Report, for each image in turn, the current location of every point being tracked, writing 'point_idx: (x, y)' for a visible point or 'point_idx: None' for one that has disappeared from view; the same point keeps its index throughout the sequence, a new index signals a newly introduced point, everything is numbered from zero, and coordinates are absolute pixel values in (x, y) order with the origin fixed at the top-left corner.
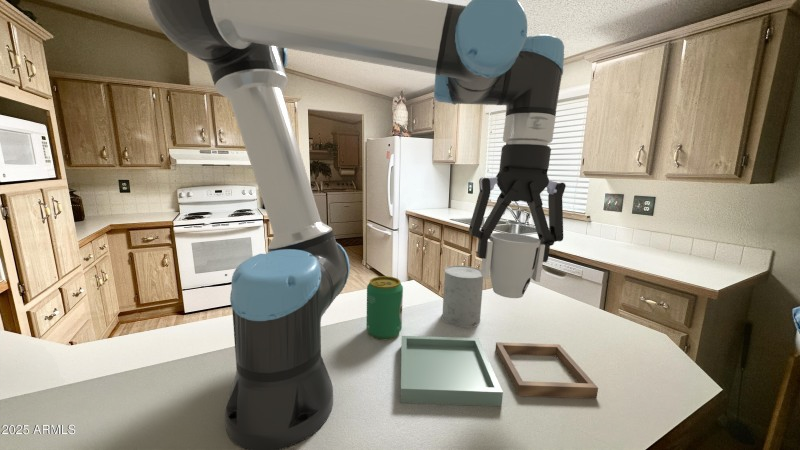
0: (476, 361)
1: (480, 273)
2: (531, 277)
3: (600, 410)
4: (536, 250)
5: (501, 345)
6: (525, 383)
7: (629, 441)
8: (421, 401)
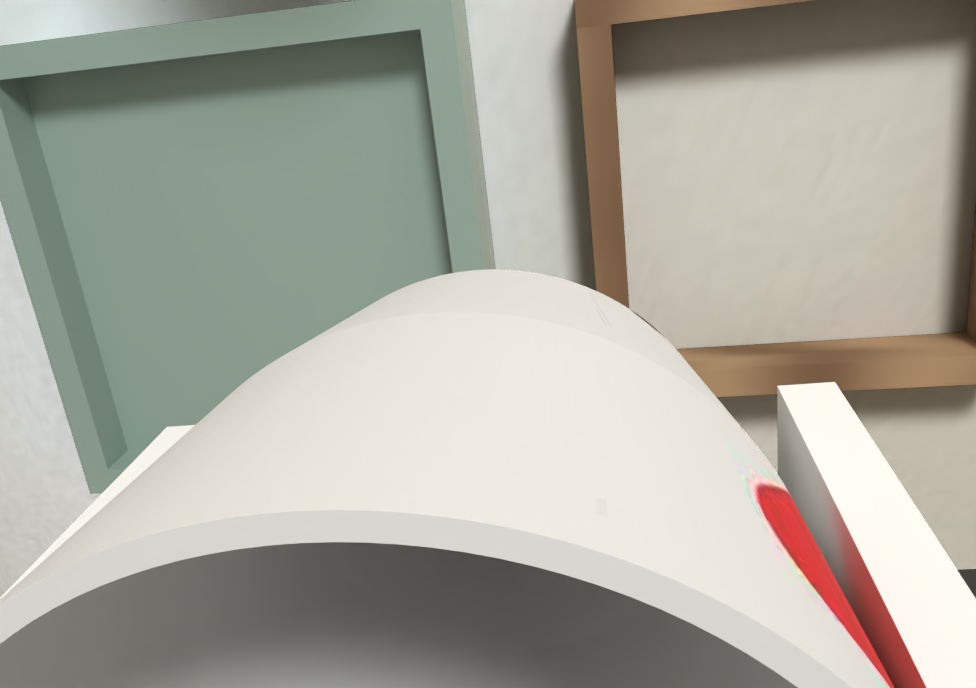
0: (429, 186)
1: (167, 427)
2: (780, 451)
3: (959, 428)
4: None
5: (603, 29)
6: None
7: (963, 566)
8: None
